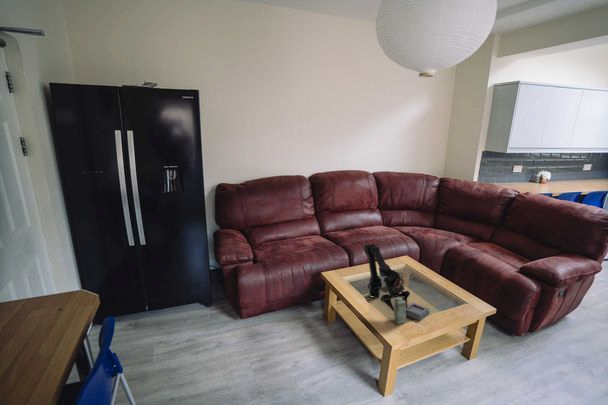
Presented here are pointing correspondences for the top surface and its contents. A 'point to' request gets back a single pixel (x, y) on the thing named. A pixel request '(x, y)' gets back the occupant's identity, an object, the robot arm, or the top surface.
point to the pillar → (400, 311)
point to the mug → (399, 281)
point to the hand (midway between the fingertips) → (400, 309)
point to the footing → (417, 311)
